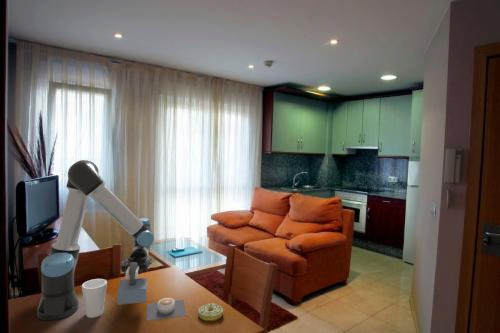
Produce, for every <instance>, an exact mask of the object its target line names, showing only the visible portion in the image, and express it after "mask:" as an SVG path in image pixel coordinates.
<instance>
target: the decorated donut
mask: <svg viewBox="0 0 500 333" xmlns="http://www.w3.org/2000/svg"><path fill="white" fill-rule="evenodd" d="M197 311H198V312H197V313H198V314H197V315H198V316H199V318H200V319H201V320H202V321H205V322H215V321H218V320H220V318H222V316H223V314H224V308H223V307H222V306H221V305H219V304H217V303H211V302H208V303H205V304H204V305H201V306H200V307H199V308H198V310H197Z"/></svg>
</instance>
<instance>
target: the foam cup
mask: <svg viewBox="0 0 500 333" xmlns="http://www.w3.org/2000/svg"><path fill="white" fill-rule="evenodd" d="M107 288H108V281H107V279H103V278H95V279H94V278H93V279H90V280H87V281H85V282H83V283H82V284H81V292H82V296H83V304H84V309H85V310H84V311H85V315H86V317H87V318H93V319H94V318H98V317H99V316H102V314H103V313H104V308H105V302H106V301H105V299H106V294H107Z"/></svg>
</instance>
